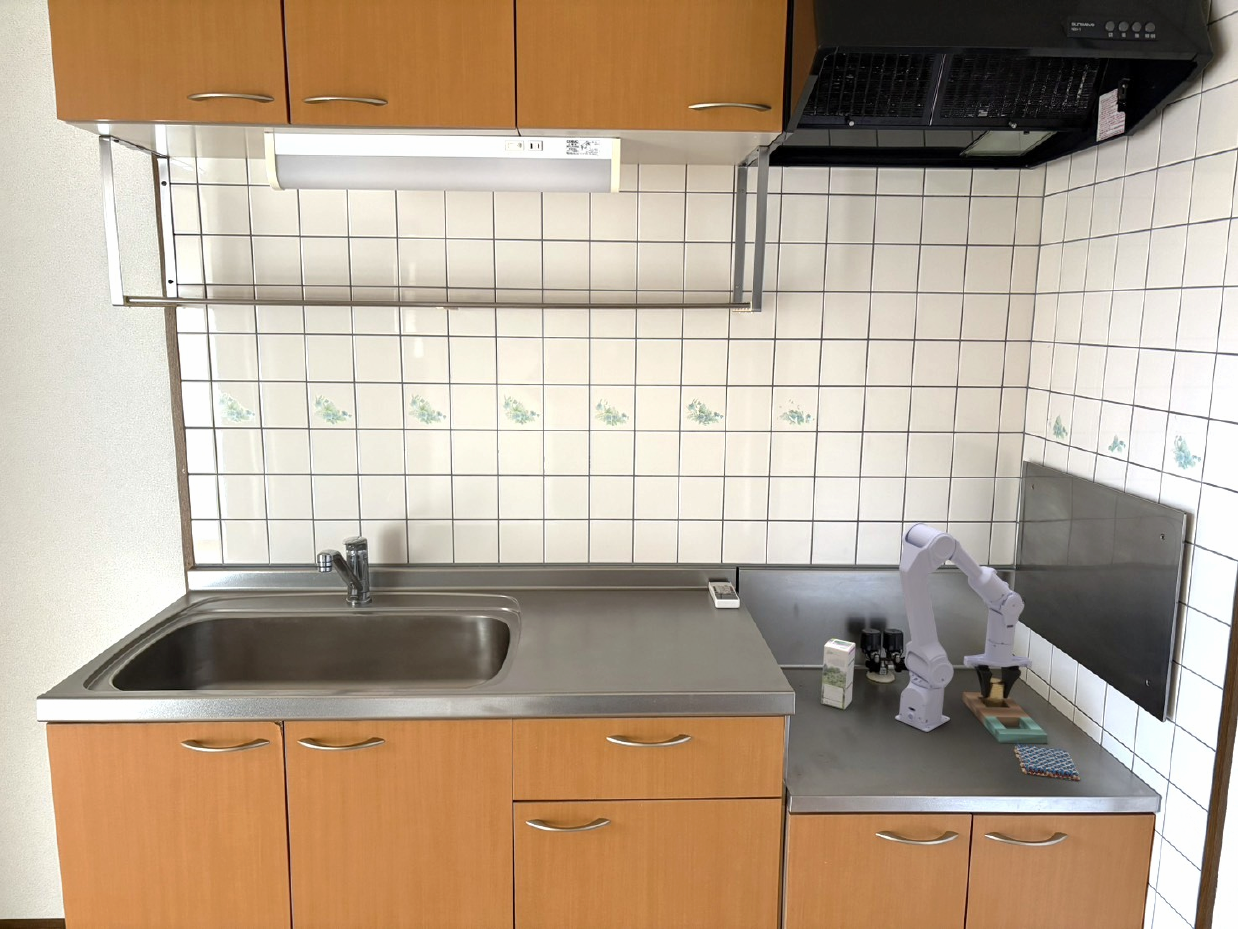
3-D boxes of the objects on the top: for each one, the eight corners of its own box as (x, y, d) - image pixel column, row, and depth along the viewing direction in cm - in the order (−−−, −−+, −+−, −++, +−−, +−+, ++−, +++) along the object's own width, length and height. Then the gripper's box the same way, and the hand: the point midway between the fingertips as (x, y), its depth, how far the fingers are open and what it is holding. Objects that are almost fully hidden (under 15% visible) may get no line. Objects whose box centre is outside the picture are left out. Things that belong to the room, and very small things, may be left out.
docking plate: (1046, 743, 179) (1047, 734, 179) (999, 742, 179) (1000, 733, 179) (1005, 700, 199) (1005, 692, 198) (962, 700, 199) (963, 692, 199)
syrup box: (852, 701, 197) (856, 642, 195) (844, 711, 192) (848, 650, 190) (828, 695, 200) (832, 636, 198) (819, 704, 195) (823, 644, 193)
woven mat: (1067, 757, 175) (1068, 748, 174) (1081, 784, 165) (1082, 775, 164) (1012, 750, 177) (1013, 741, 177) (1022, 776, 167) (1023, 767, 167)
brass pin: (996, 715, 191) (999, 686, 190) (980, 709, 194) (983, 681, 193) (1004, 711, 194) (1007, 682, 192) (988, 705, 197) (991, 676, 195)
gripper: (1024, 633, 195) (1018, 689, 197) (960, 632, 195) (955, 688, 197) (1038, 645, 188) (1032, 703, 190) (973, 644, 188) (967, 701, 190)
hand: (994, 696), depth 193 cm, fingers closed on brass pin, 4 cm apart
